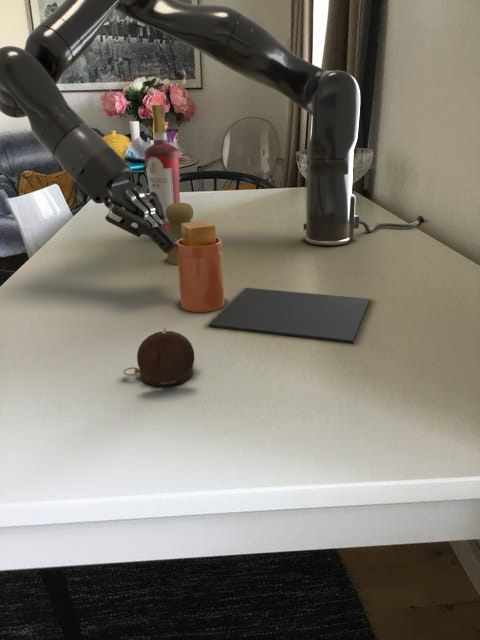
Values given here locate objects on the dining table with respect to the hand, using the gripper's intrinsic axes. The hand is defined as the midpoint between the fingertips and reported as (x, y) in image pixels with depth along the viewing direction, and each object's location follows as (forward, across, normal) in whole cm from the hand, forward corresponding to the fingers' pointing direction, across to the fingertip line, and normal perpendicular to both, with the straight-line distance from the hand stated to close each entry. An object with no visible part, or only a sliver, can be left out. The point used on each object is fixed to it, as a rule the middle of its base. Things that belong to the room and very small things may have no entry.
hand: (172, 248), depth 86 cm
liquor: (-8, -37, -20) cm, 43 cm away
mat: (+19, 0, +7) cm, 21 cm away
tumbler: (+9, 0, -3) cm, 10 cm away
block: (+3, 0, +3) cm, 4 cm away
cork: (0, -21, -12) cm, 25 cm away
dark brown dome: (+13, +24, 0) cm, 27 cm away
